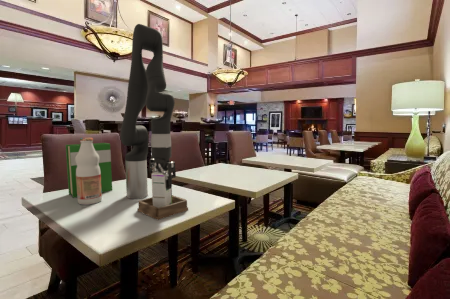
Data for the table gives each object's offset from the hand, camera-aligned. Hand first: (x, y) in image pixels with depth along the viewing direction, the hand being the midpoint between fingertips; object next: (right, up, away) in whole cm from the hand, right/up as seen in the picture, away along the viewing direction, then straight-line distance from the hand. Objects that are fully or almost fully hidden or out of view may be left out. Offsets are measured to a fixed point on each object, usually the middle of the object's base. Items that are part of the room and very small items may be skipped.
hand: (162, 186), depth 98 cm
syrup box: (0, -9, +1) cm, 9 cm away
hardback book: (-42, -7, +26) cm, 50 cm away
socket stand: (0, -10, +1) cm, 10 cm away
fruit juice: (-35, -9, +12) cm, 37 cm away
